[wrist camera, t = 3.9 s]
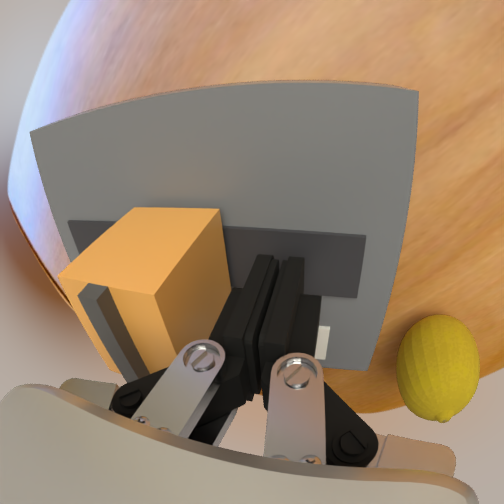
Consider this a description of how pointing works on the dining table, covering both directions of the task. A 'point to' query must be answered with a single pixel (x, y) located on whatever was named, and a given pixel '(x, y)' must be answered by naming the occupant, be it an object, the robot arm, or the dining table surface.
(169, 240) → the orange block
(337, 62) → the dining table surface
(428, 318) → the lemon
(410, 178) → the switch panel
